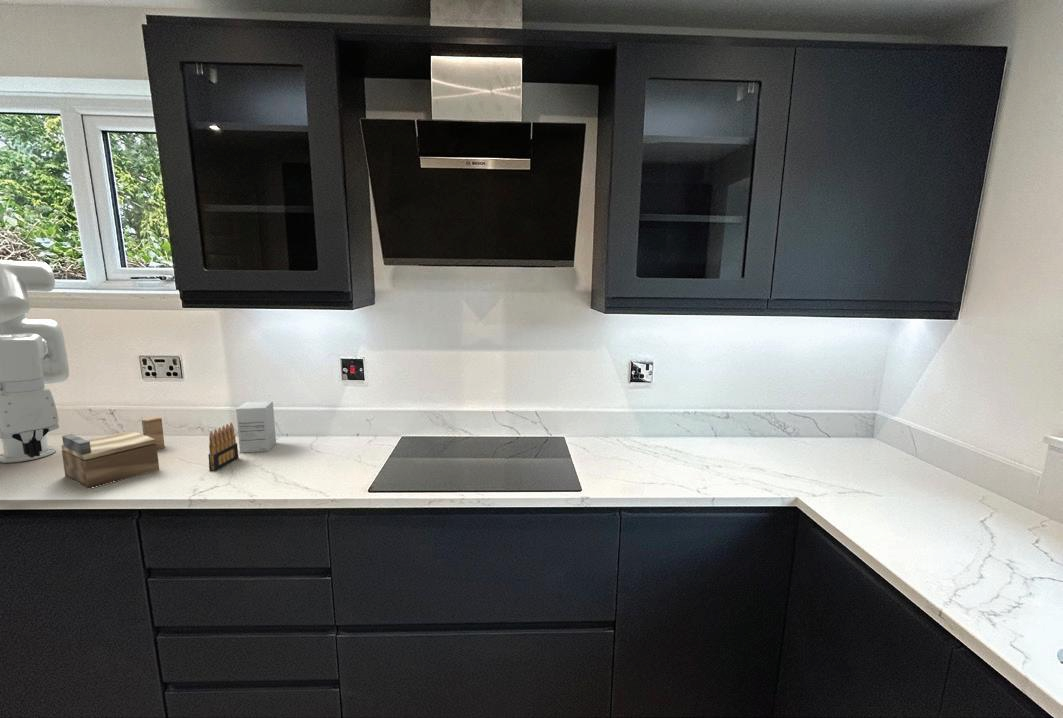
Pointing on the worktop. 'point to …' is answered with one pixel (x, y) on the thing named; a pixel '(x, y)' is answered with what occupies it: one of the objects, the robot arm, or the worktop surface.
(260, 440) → the supplement box
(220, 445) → the ammunition clip
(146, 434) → the brown wooden block
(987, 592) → the worktop surface
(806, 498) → the worktop surface
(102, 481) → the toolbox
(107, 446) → the lid
